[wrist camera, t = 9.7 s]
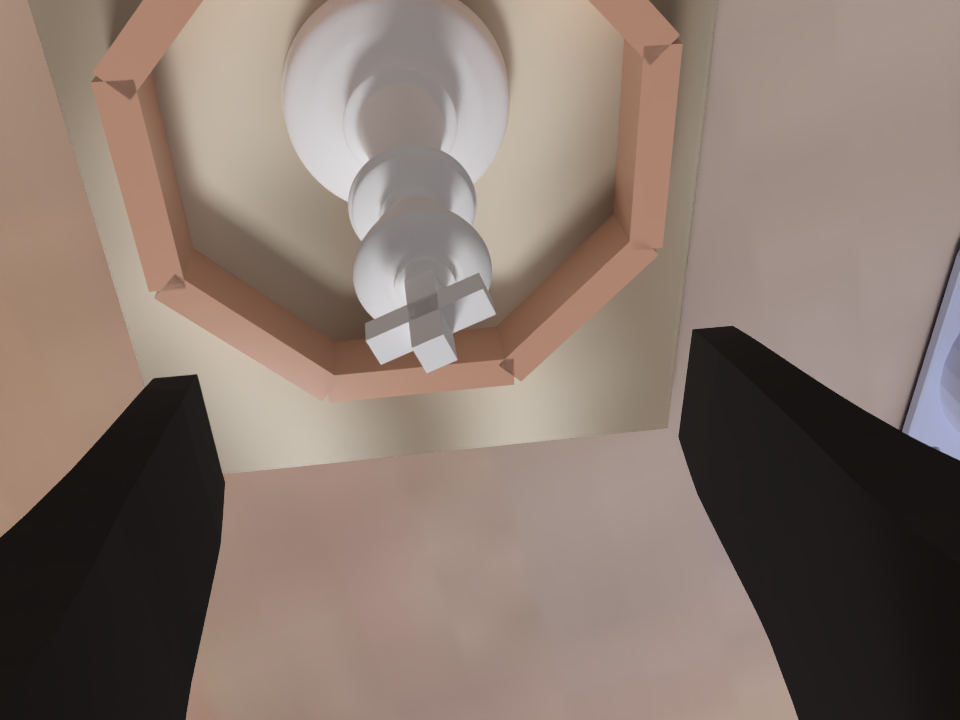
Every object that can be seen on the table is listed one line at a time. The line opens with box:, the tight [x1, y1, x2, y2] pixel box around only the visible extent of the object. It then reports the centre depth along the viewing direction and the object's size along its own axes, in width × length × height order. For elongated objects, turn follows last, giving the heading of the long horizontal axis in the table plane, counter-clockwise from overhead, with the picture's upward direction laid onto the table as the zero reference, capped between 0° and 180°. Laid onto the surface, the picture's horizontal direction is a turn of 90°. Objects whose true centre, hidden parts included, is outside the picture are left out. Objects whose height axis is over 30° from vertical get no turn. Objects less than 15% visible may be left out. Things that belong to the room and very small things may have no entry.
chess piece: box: [281, 0, 510, 373], centre depth 15 cm, size 5×5×10 cm
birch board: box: [28, 0, 717, 474], centre depth 20 cm, size 14×18×1 cm
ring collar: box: [91, 0, 683, 403], centre depth 19 cm, size 12×12×2 cm
